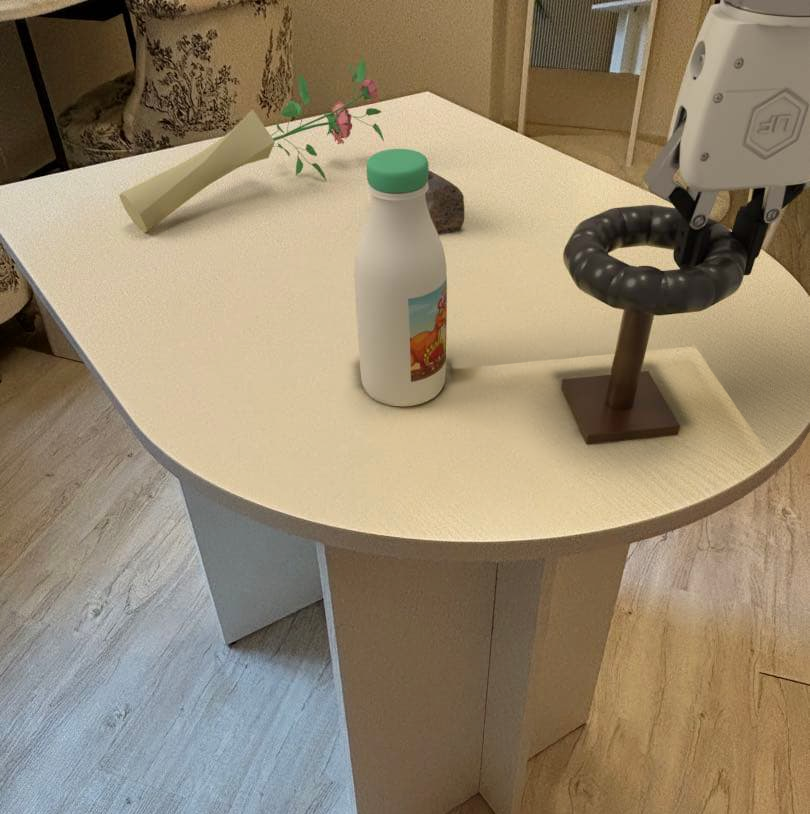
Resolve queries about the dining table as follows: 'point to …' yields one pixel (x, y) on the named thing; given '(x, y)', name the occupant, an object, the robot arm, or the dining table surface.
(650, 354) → the dining table surface
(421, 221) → the milk bottle
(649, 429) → the holder
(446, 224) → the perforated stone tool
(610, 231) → the ring
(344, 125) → the flower vase
